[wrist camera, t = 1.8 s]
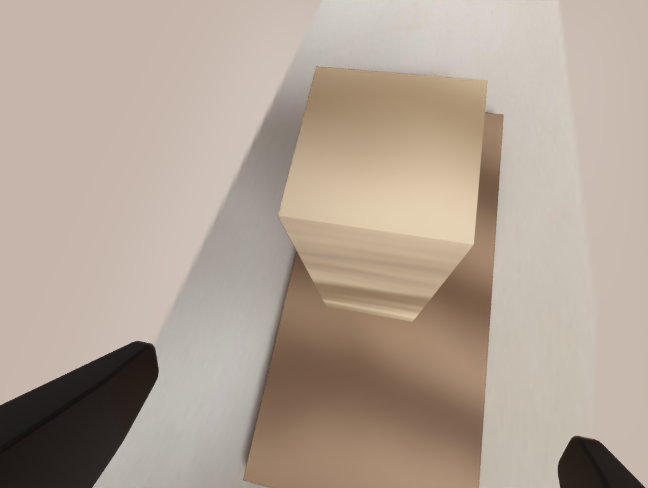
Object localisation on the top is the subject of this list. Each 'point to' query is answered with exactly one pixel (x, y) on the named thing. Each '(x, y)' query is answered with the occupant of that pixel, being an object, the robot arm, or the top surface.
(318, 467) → the tan flat plate
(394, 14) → the top surface
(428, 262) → the beech pillar
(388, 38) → the top surface
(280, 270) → the top surface
